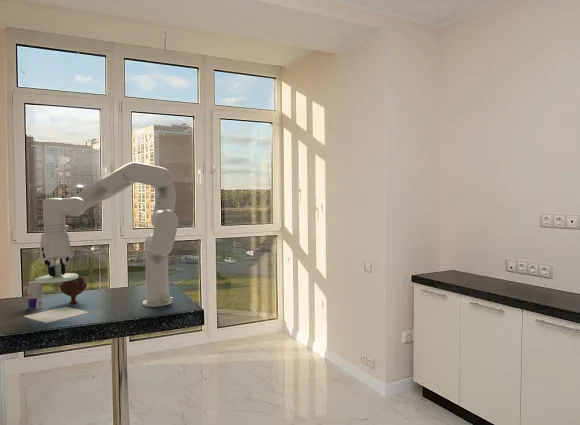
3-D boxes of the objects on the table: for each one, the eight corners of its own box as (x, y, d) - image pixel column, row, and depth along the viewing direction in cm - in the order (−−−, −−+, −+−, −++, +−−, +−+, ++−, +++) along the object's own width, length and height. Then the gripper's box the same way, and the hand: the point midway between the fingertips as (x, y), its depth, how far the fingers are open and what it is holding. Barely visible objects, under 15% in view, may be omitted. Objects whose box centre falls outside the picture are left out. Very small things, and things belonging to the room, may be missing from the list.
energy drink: (26, 309, 177) (26, 281, 177) (41, 307, 181) (40, 280, 181) (30, 312, 173) (29, 283, 173) (44, 309, 177) (43, 281, 177)
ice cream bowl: (76, 308, 179) (75, 273, 178) (53, 307, 181) (52, 273, 180) (92, 302, 189) (92, 269, 189) (71, 301, 191) (70, 268, 191)
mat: (89, 314, 170) (89, 312, 169) (46, 325, 155) (46, 322, 155) (65, 308, 179) (65, 306, 178) (23, 318, 164) (22, 316, 164)
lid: (86, 277, 169) (85, 262, 169) (48, 284, 156) (47, 268, 156) (65, 274, 177) (64, 260, 177) (27, 281, 164) (26, 265, 164)
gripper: (69, 227, 175) (71, 271, 175) (28, 230, 161) (30, 278, 162) (80, 227, 171) (82, 272, 171) (38, 231, 157) (40, 280, 158)
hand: (57, 274), depth 167 cm, fingers closed on lid, 3 cm apart
